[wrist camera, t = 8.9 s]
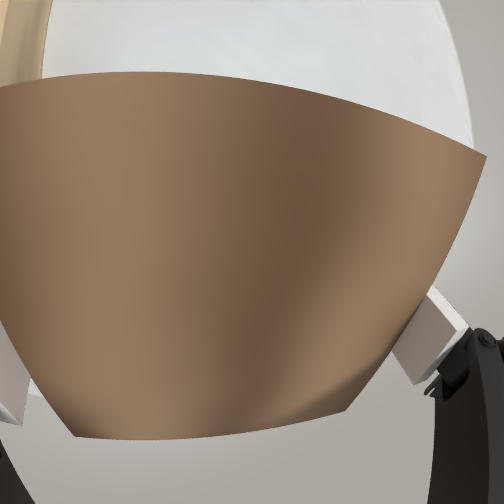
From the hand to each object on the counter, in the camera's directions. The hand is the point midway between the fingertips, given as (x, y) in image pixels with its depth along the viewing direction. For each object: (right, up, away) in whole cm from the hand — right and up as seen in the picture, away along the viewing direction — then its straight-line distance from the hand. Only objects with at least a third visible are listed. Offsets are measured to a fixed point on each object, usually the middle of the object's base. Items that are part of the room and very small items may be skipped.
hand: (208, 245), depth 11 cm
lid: (+1, -1, -2) cm, 2 cm away
